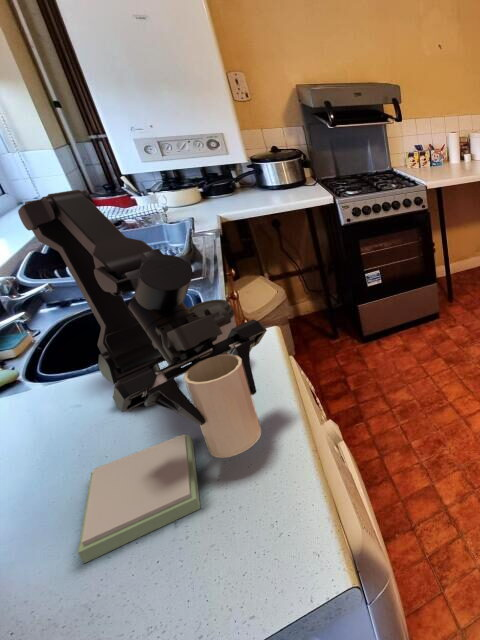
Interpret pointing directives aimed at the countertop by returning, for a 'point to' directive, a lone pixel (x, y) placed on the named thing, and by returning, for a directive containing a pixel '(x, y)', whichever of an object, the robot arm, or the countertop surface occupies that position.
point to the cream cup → (224, 404)
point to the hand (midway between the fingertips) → (230, 408)
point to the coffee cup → (200, 313)
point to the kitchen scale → (138, 496)
